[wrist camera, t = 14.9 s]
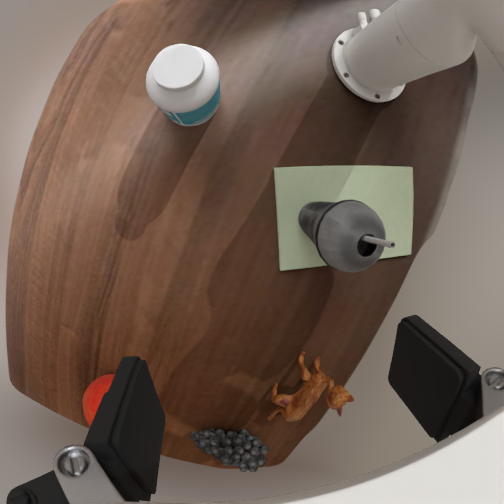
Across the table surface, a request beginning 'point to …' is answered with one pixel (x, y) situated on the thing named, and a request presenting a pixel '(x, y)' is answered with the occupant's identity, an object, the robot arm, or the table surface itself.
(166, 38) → the table surface
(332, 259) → the beverage cup
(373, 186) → the mat
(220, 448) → the fruit
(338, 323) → the table surface
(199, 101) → the pill bottle
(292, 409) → the cat figurine
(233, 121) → the table surface
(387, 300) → the table surface
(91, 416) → the apple
